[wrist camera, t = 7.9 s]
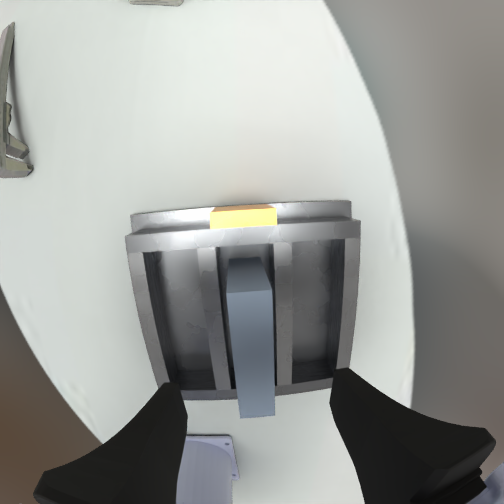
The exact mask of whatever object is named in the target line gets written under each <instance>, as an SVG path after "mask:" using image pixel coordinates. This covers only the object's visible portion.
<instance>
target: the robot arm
mask: <svg viewBox="0 0 504 504" xmlns="http://www.w3.org/2000/svg"><path fill="white" fill-rule="evenodd" d="M329 404H330V407H331V411H332V414H333V418H334V421H335V424H336V426H337V428H338V430H339V433H340V435H341V437H342V439H343V441H344V444H345V446H346V448H347V450H348V452H349V454H350V457H351V459H352V461H353V464H354V466H355V469H356V472H357V476H358V479H359V482H360V486H361V490H362V494H363V497H364V502H365V504H504V462H503V463H502V464H500V465H499V466H498V467H497V468H496V469H495V470H494V471H493V472H491V473H490V475H489V476H488V477H487V478H486V479H485V481H482V479H481V477H480V475H481V474H482V470H481V469H480V468H479V467H480V465H481V464H482V463H483V462H484V461H485V459H486V458H487V457H488V456H489V454H490V453H491V452H492V450H493V449H494V447H495V445H496V440H495V439H494V438H493V437H492V436H491V434H490V433H489V432H488V431H487V430H486V429H485V428H479V427H469V426H461V425H456V424H451V423H447V422H444V421H440V420H437V419H434V418H431V417H428V416H425V415H423V414H420V413H418V412H416V411H413V410H411V409H409V408H407V407H405V406H403V405H402V404H400V403H398V402H396V401H395V400H393V399H391V398H390V397H388V396H386V395H385V394H383V393H382V392H380V391H379V390H378V389H376V388H375V387H373V386H372V385H371V384H369V383H368V382H367V381H365V380H364V379H363V378H361V377H360V376H359V375H357V374H356V373H355V372H353V371H352V370H351V369H350V368H348V367H346V368H341V369H335V370H334V375H333V382H332V389H331V396H330V403H329ZM187 419H188V415H187V412H186V408H185V405H184V401H183V398H182V394H181V391H180V387H179V383H170V382H164V383H163V384H162V385H161V387H160V388H159V389H158V390H157V391H156V393H155V394H154V395H153V396H152V397H151V399H150V400H149V401H148V402H147V403H146V405H145V406H144V407H143V408H142V409H141V410H140V411H139V412H138V413H137V415H136V416H135V417H134V418H133V419H132V420H131V421H130V422H129V423H128V424H127V425H126V426H125V427H124V428H122V429H121V430H120V431H119V432H118V433H117V434H116V435H114V436H113V437H112V438H111V439H109V440H108V441H107V442H105V443H104V444H102V445H101V446H99V447H98V448H96V449H95V450H93V451H91V452H90V453H88V454H86V455H85V456H83V457H81V458H79V459H77V460H75V461H72V462H70V463H68V464H65V465H63V466H60V467H57V468H54V469H51V470H48V471H44V473H43V474H42V477H41V478H40V480H39V482H38V485H37V487H36V488H35V491H34V493H33V496H34V498H35V499H36V501H37V502H38V503H40V504H232V480H238V479H239V473H238V468H237V463H236V458H235V453H234V448H233V443H232V438H231V437H229V436H186V433H187Z"/></svg>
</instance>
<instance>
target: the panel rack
mask: <svg viewBox="0 0 504 504" xmlns="http://www.w3.org/2000/svg"><path fill="white" fill-rule="evenodd" d="M130 218H131V227H132V233H131V234H129V235H127V236H125V243H126V250H127V256H128V263H129V269H130V275H131V280H132V286H133V291H134V296H135V301H136V306H137V311H138V315H139V319H140V324H141V328H142V332H143V336H144V340H145V344H146V348H147V351H148V355H149V359H150V362H151V366H152V369H153V373H154V376H155V379H156V382H157V385H158V389H159V388H160V387H161V385H162V384H163V383H164V382H170V383H179V387H180V391H181V394H182V398H183V400H230V399H238V396H237V388H236V380H235V371H234V363H233V354H232V345H231V336H230V326H229V316H228V306H227V296H226V290H227V277H228V264H229V259H235V258H249V257H260V258H261V261H262V264H263V266H264V269H265V272H266V275H267V277H268V280H269V283H270V286H271V288H272V303H273V337H274V383H275V396H279V395H288V394H295V393H302V392H309V391H315V390H321V389H327V388H332V382H333V375H334V370H335V369H341V368H346V367H348V368H349V365H350V358H351V351H352V344H353V336H354V327H355V318H356V307H357V295H358V281H359V263H360V225H361V221H360V220H356V219H353V218H351V201H311V202H284V203H264V204H247V205H232V206H218V207H205V208H193V209H182V210H171V211H161V212H152V213H143V214H134V215H130Z"/></svg>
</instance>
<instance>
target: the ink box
mask: <svg viewBox="0 0 504 504" xmlns="http://www.w3.org/2000/svg"><path fill="white" fill-rule="evenodd" d="M129 2H130V4H154V5H171V6H179V5H181V3H182V2H183V0H129Z"/></svg>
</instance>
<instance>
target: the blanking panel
mask: <svg viewBox="0 0 504 504" xmlns="http://www.w3.org/2000/svg"><path fill="white" fill-rule="evenodd" d="M226 296H227V306H228V316H229V326H230V336H231V345H232V354H233V363H234V371H235V380H236V388H237V396H238V404H239V412H240V418H253V417H265V416H274V415H275V383H274V337H273V303H272V288H271V286H270V283H269V280H268V277H267V275H266V272H265V269H264V266H263V264H262V261H261V258H260V257H249V258H235V259H229V264H228V277H227V290H226Z"/></svg>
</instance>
